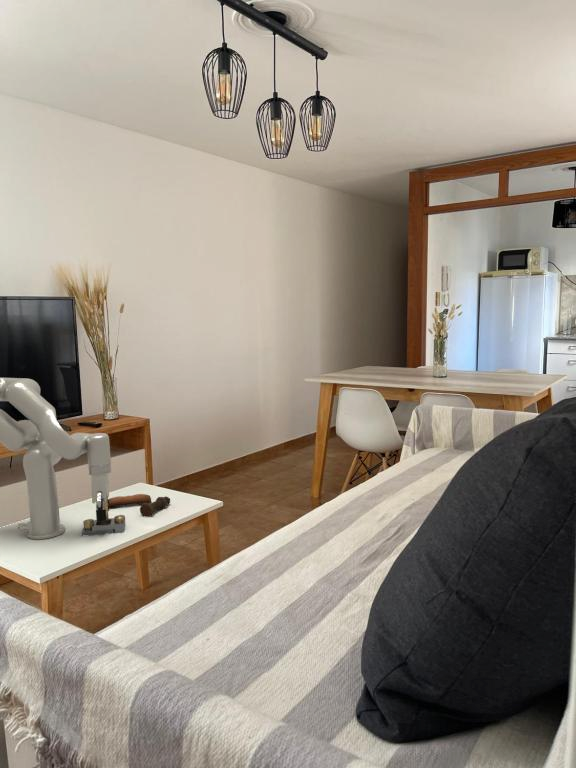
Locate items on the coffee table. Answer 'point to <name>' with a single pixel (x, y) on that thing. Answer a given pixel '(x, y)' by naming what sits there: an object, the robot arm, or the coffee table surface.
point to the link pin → (106, 515)
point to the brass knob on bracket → (104, 526)
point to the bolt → (154, 506)
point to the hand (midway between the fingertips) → (103, 515)
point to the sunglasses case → (129, 500)
